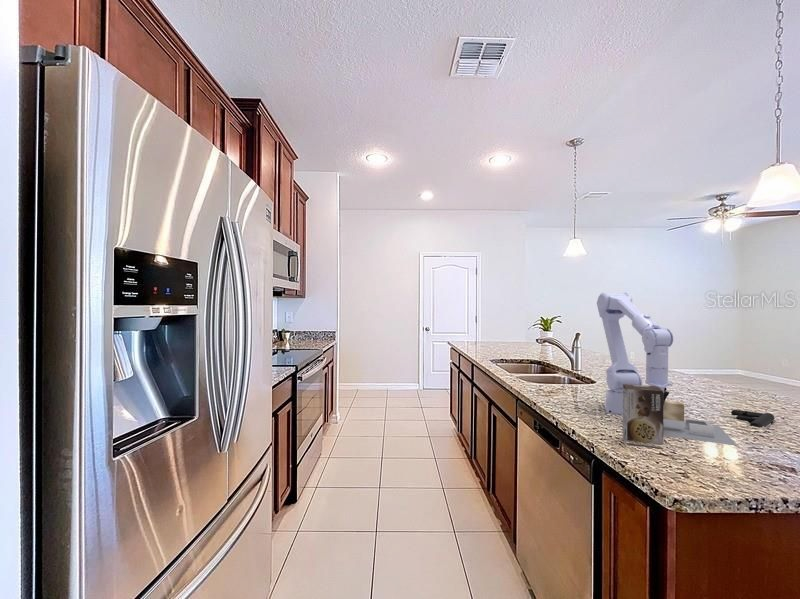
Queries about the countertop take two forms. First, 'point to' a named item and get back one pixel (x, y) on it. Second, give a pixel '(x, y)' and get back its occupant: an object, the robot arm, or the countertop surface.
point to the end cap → (699, 427)
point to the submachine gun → (753, 418)
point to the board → (678, 430)
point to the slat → (673, 411)
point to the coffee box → (643, 414)
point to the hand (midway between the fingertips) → (656, 411)
